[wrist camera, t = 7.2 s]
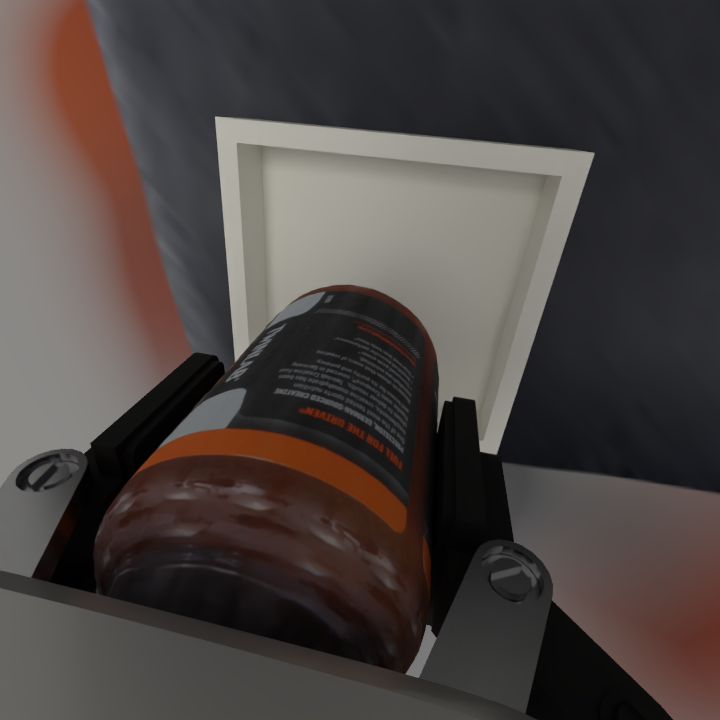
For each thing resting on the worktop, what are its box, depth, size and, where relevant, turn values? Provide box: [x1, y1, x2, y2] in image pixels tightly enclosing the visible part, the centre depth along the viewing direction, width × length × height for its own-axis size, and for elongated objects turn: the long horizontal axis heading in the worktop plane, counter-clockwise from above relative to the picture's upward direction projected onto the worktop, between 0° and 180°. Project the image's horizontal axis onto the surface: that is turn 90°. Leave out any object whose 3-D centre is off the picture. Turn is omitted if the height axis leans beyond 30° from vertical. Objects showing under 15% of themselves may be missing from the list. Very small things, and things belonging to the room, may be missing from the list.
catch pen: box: [215, 117, 595, 455], centre depth 19 cm, size 14×14×3 cm
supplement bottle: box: [93, 285, 439, 674], centre depth 10 cm, size 6×6×11 cm
